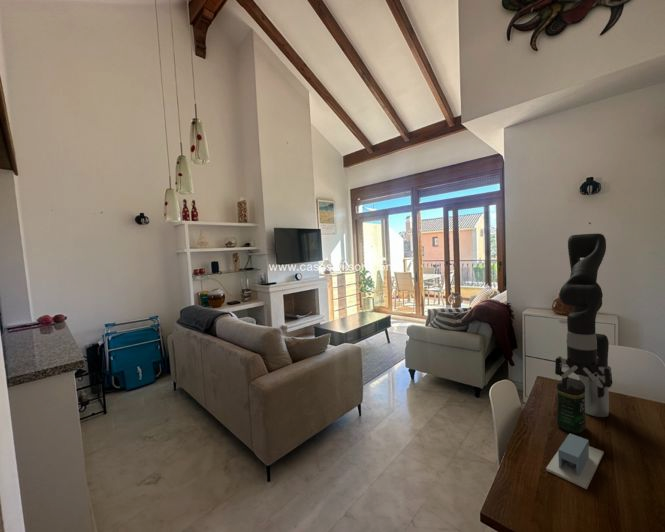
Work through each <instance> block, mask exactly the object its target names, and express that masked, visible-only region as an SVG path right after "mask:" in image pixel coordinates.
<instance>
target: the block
mask: <svg viewBox="0 0 665 532" xmlns="http://www.w3.org/2000/svg"><path fill="white" fill-rule="evenodd" d="M568 433H569V434H567V436H566V437H565V439H564V441H563V442H562V443H561V445H560V446H559V448H558V449H557V451H558V456H559V468H562V466H563V465H564V463H565V462H566V460H567V461H569V462H571V463H574V464H576V476H579V475H580V473H581V471H582V470H583V468H584V466H585V464H586V462H587V460H588V458H589V446H590V443H589V442H590V441H589V439H587V438H583V437H581V436H578V435H575V434H574V433H571V432H568Z"/></svg>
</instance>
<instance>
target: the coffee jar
mask: <svg viewBox="0 0 665 532" xmlns="http://www.w3.org/2000/svg"><path fill="white" fill-rule="evenodd" d="M556 395H557V396H556V397H557V398H556V399H557V400H556V401H557V402H556V406H557V407H556V409H557V410H556V425H557V426H558V427H559V428H560V429H562V430H563V431H566V432H568V433H571V434H581V433H583V432H584V431H585V429H586V426H587V425H586V413H585V385H584V383H582V381H580V380H579V379H577V378H573V377H569V388H568V389H565V387H563V385H562V379H561V380H559V381H557V382H556Z"/></svg>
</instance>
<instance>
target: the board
mask: <svg viewBox="0 0 665 532" xmlns="http://www.w3.org/2000/svg"><path fill="white" fill-rule="evenodd" d="M604 453H605V451H603V450H601V449H599V448H595V447H593V446H590V445H589V458H588V460H587V462H586V464H585V466H584V468H583V470H582V471H581V473H580V475H579V476H576V464H574V463H571V462H569V461H567V460H566V462H565V463H564V465H563V466H562V468H559V456H558V450H557V452H556V453H555V454H554V456H553V457H552V458H551V460H550V462H549V463H548V465H547V466H546V467H545V470H546V472H549V473H551V474H553V475H555V476H557V477H559V478H562V479H564V480H565V481H568V482H570V483H572V484H575V485H576V486H579V487H581V488H583V489H585V490H587V489H588V487H589V485H590V484H591V481H592V479H593V477H594V475H595V473H596V471H597V469H598V467H599V464H600V462H601V460H602V458H603V456H604Z"/></svg>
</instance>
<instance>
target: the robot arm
mask: <svg viewBox="0 0 665 532" xmlns="http://www.w3.org/2000/svg"><path fill="white" fill-rule="evenodd" d="M567 239H568V240H567V250H568V258H569V259H568V260H569V265H570V266H569V267H570V274H569V275H570V276H569V278H568V279H567V281H566V282H564V284H563V285H562V287H561V289H560V290H559V294H558V295H559V296H558V297H559V300H560V302H561V303H563V304H564V305H566V306H569V307H570V306H571V307H572V311H573V312H570V313H568V315H567V317H566V322H567V323H566V325H567V333H566V356H567V357H566V358H563V357H562V356H560V355H559V356H558V357H556V358H555V364H554V365H555V367H554V368H555V369H554V370H555V371H554V374H555V375H556V376H560V377H561V380H562V385H563V387H565V389H568V388H569V378H570V377H569V376H570V375H572V374H575V375H577V376H578V380H580V381H582V383H584V385H585V415H586V414H587V415H589V416H593V417H597V418H606V417H608V416H609V415H610V412H609V411H610V408H609V406H610V405H609V403H610V402H609V399H610V398H609V396H610V395H609V389H610V388H611V387H612V386H613V375H612V368H611V367H610V365H609V364H608V363H609V349H610V347H609V344H610V342H609V338H608V336H607V335H605V334H603V333H602V334H601V333H596V319H597V315H598V314H597V313H598V312H599V311H600V309H601V308H602V305H603V296H604V295H603V290H602V288H601V285H600V284H599V283H598V282H597V280H598V272H599V269H600V266H601V264H602V262H603V261H604V257H605V254H606V252H607V240H606V237H605V235H604V234H602V233H583V234H572V235H570V236H569V237H568V238H567ZM564 364H566V366H567V367H568V369H567V370H566V371H562V370H563V365H564Z"/></svg>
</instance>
